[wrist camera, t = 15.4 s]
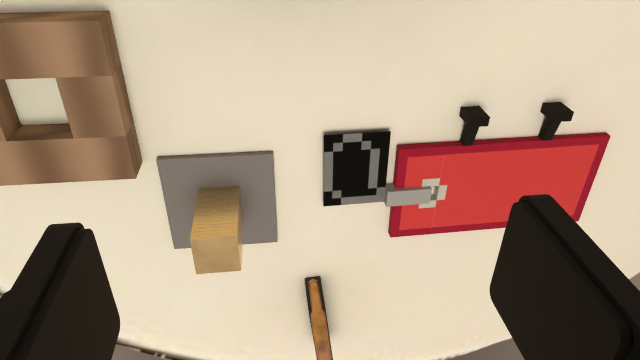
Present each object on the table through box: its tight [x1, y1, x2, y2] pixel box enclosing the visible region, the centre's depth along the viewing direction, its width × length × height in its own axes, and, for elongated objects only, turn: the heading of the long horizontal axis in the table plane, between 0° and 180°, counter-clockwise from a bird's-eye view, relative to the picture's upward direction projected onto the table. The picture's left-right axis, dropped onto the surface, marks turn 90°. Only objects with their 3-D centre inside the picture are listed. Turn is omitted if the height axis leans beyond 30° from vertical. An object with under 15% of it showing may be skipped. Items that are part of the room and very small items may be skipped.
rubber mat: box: [157, 151, 277, 249], centre depth 49 cm, size 11×11×1 cm
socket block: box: [0, 11, 142, 186], centre depth 40 cm, size 14×14×3 cm
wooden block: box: [190, 186, 243, 274], centre depth 46 cm, size 4×4×8 cm
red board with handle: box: [323, 102, 610, 237], centre depth 50 cm, size 30×3×15 cm
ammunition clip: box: [305, 277, 333, 360], centre depth 55 cm, size 11×2×12 cm, turn 6°
